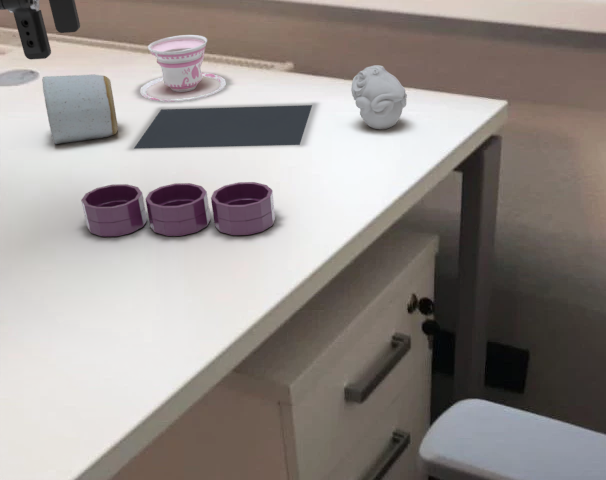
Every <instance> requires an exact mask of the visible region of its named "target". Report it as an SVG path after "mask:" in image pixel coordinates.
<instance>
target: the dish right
mask: <svg viewBox="0 0 606 480" xmlns="http://www.w3.org/2000/svg"><path fill="white" fill-rule="evenodd" d="M210 201H211V202H210V203H211V206H212V207H211V209H212V216H213V221H214V222H213V224H214V226H215V228H216V229H217V230H218V231H219V232H220V233H224V234H227V235H231V236H249V235H250V236H251V235H254V234H257V233H263V232H264V231H266V230H267V229H269V228H270V227H272V226H273V225H274V223H275V219H276V214H275V203H274V191H273V189H271V187H269V186H268V185H267V184H264V183H260V182H255V181H241V182H240V181H239V182H234V183H229V184H225V185H223V186H221V187H219V188H218V189H216V190H214V191H213V192H212V195H211V197H210Z"/></svg>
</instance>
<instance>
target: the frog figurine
mask: <svg viewBox="0 0 606 480" xmlns="http://www.w3.org/2000/svg"><path fill="white" fill-rule="evenodd" d="M350 87H351V88H350V89H351V90H350V91H351V96H352V98H353V101H355V106H356V107H357V109H359V116H360V117H361V118H362V120H363V122H364V123H365V124H366V125H367V126H368V127H370V128H371V129H375V130H387V129H390V128H392V127H393V126H395V125H397V123H398V121H399V120H400V119H401V116H402V114H403V109H404V108H406V106H407V98H408V94H407V93H406V88H405V87H404V86H403V85H402V83H401V82H400V81H399V79H398V78H397V77H396V76H395V75H393V74H391V72H389V71H387V70H386V68H385V67H384V66H383V65H379V64H376V65H375V64H374V65H371V66H366V67H364V69H363V70H360V71H359V72H357V74H356V75H355V76H354V77H353V78H352V81H351V86H350Z"/></svg>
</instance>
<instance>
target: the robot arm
mask: <svg viewBox="0 0 606 480" xmlns="http://www.w3.org/2000/svg"><path fill="white" fill-rule="evenodd" d="M48 1H49V3H48V4H49V7H50V10H51V11H50V12H51V14H52V15H51V16H52V19H53V23H54V27H55V30H56V31H57V33H60V34H67V33H76V32H78V31H79V30H80V28H81V22H80V18H79V13H78V9H77V5H76V0H48ZM3 10H5V11H6V10H7V11H8V12H9V13H13V16H14V20H15V21H14V22H15V24H16V28H17V33H18V36H19V40H20V44H21V47H22V50H23V54H24V56H25V58H27V59H28V60H44V59H45V60H46V59H48V57H50V55H51V54H52V49H51V45H50V39H49V36H48V32H47V29H46V23H45V21H44V17H43V16H44V15H43V13H42V9H40V0H0V11H3Z"/></svg>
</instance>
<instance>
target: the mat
mask: <svg viewBox="0 0 606 480" xmlns="http://www.w3.org/2000/svg"><path fill="white" fill-rule="evenodd" d="M312 108H313V104H304V105H299V104H298V105H269V106H267V105H266V106H235V107H233V106H231V107H230V106H229V107H200V108H199V107H198V108H197V107H196V108H194V107H193V108H165V109H164V108H163V109H160V110H159V112H158V113H157V114H156V116H155V117H154V119H153V120H152V122H151V123H150V124H149V126H148V128H147V129H145V132H144V133H143V135H142V136H141V137H140V139H139V140H138V142H137V143H136V144H135V146H134V147H133V150H134V149H135V150H137V149H176V148H178V149H179V148H181V149H182V148H183V149H184V148H219V147H220V148H221V147H222V148H223V147H224V148H225V147H226V148H227V147H229V148H230V147H263V146H264V147H265V146H266V147H267V146H268V147H269V146H270V147H271V146H300V145H301V142H302V139H303V136H304V133H305V129H306V126H307V123H308V120H309V117H310V114H311V110H312Z"/></svg>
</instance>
